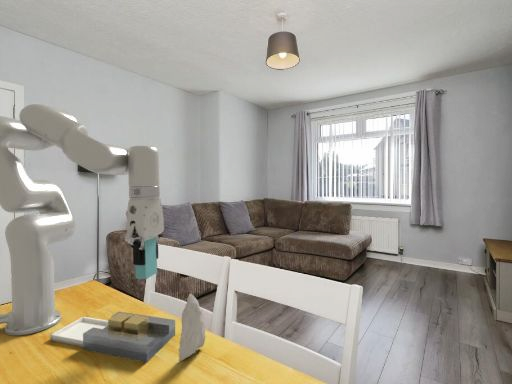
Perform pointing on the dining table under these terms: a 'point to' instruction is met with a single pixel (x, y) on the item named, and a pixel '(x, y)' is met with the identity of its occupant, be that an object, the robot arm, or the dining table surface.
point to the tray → (77, 330)
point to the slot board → (133, 355)
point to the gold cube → (136, 325)
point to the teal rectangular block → (148, 259)
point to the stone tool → (191, 328)
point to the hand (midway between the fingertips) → (146, 260)
